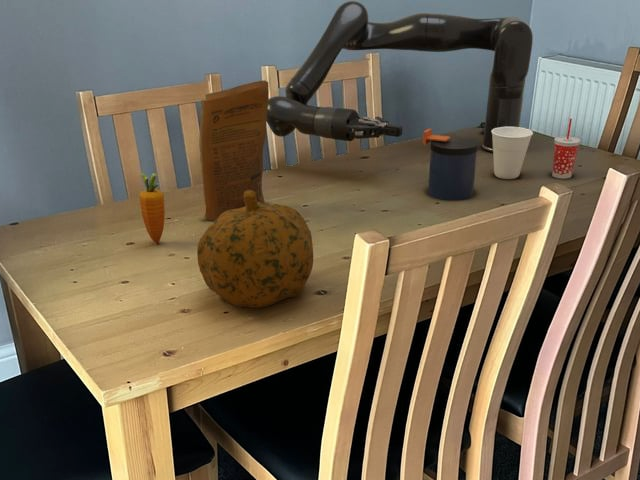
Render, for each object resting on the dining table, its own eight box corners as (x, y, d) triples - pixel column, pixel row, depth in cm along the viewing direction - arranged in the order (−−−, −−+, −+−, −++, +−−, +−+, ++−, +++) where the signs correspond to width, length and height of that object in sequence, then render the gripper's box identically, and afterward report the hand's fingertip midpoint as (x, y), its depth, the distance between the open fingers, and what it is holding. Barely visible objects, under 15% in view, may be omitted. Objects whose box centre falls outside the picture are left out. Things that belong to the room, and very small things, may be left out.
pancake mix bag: (280, 207, 183) (277, 80, 168) (211, 227, 173) (201, 94, 158) (263, 200, 187) (259, 76, 173) (194, 218, 178) (183, 88, 163)
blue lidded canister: (419, 196, 188) (423, 145, 181) (437, 182, 196) (440, 133, 189) (464, 203, 183) (469, 151, 176) (480, 189, 191) (485, 139, 184)
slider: (422, 144, 185) (423, 131, 184) (427, 141, 188) (428, 128, 186) (445, 147, 183) (446, 134, 181) (450, 144, 185) (451, 131, 184)
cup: (531, 181, 195) (537, 136, 189) (490, 182, 195) (495, 137, 189) (521, 169, 203) (527, 126, 198) (483, 170, 204) (487, 126, 198)
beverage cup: (556, 170, 202) (565, 114, 195) (578, 175, 198) (588, 118, 191) (544, 176, 198) (552, 119, 191) (567, 181, 195) (576, 123, 187)
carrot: (142, 241, 167) (133, 171, 159) (165, 237, 168) (157, 167, 160) (148, 249, 163) (139, 178, 155) (171, 245, 164) (164, 174, 156)
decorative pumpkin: (344, 294, 141) (334, 185, 130) (243, 335, 132) (224, 222, 122) (283, 261, 156) (270, 161, 145) (189, 296, 147) (168, 193, 137)
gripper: (348, 132, 203) (411, 140, 195) (323, 145, 193) (388, 154, 186) (348, 102, 199) (412, 109, 191) (323, 113, 189) (390, 121, 182)
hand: (400, 131), depth 188 cm, fingers closed
